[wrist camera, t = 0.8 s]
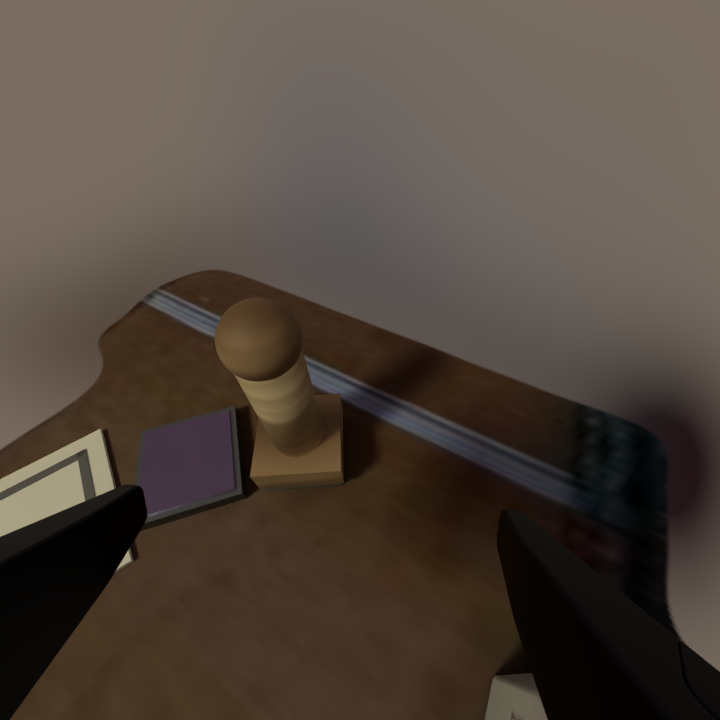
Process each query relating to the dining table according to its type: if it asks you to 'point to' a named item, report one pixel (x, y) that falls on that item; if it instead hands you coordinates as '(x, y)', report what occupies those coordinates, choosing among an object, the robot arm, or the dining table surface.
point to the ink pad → (191, 466)
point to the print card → (57, 484)
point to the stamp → (282, 398)
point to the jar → (514, 699)
